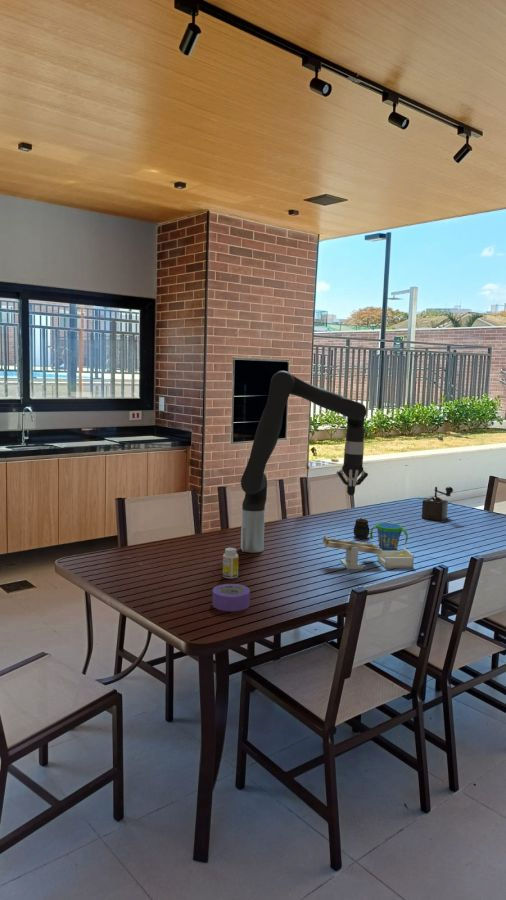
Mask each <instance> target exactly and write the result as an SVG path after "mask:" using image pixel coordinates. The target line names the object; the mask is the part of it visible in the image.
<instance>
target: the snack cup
mask: <svg viewBox="0 0 506 900" xmlns="http://www.w3.org/2000/svg"><path fill="white" fill-rule="evenodd" d="M374 528H376V529H377V537H378V539H377V541H378V548H379V549H382V551H398V546H399V541H400V537H401V534H402V531H403V533H404V534H405V537H406V538H405V542H404V544H407V542H408V539H409V538H408V536H409V535H408V532H407V530H406V529H405V528H403V526H402V525H400V524H397V523H392V522H381V523H377V524H376V525H374V526H373V527H372V528H371V530H370V531H369V536H370V539H371V540H373V537H374V536H373V530H374Z"/></svg>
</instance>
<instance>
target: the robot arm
mask: <svg viewBox="0 0 506 900" xmlns="http://www.w3.org/2000/svg"><path fill="white" fill-rule="evenodd" d="M269 384H270V385H269V390H268V395H267V400H266V403H265V404H266V405H265V406H264V408H263V412H262V414H261V417H260V419H259V421H258V425H257V428H256V431H255V435H254V439H253V443H252V446H251V450H250V455H249V459H248V461H247V464H246V466H245V469H244V472H243V474H242V477H241V479H240V486H241V489H242V491H243V492H244V499H243V501H242V503H241V504H242V506H241V508H242V511H241V529H240V550H241V551H242V553H243V552H244V553H245V552H246V553H251V554H252V553H255V554H256V553H262V552H263V551H265V550H264V549H265V548H264V547H265V516H266V515H265V512H266V511H265V508H266V502H267V494H268V492H267V491H268V479H267V476H266V474H265V469H266V466H267V463H268V462H269V460H270V457H271V456H272V454H273V452H274V450H275V448H276V446H277V443H278V439H279V436H280V433H281V430H282V425H283V417H284V412H285V407H286V404H287V402H288V399H289V397H290V395H291V396H297V397H299V398H301V399H304V400H307V401H308V402H310V403H313V404H315V405H317V406H318V407H321V408H323V409H325V410H328V411H331V412H334V413H338V414H340V415H342V416H344V417H346V419H347V420H346V421H347V425H346V426H347V427H346V433H345V434H346V435H345V445H344V450H343V451H344V453H343V465H342V467H341V469H340V470H338V471H336V475H337V476H338V477H339V478H340V480H341V481H342V483H343V484H344V485H346V486H347V488H346V493H347V495H348V496H354V495H355V493H356V487H357V486H361V484H362V483H363V482H364V481H365V480H366V478H367V477H368V476H369V474H368V472H366V470H364V467H363V466H364V465H363V464H364V463H363V462H364V452H365V445H364V443H365V442H364V441H365V418H366V416H367V413H368V412H367V411H368V410H367V408H366V406H365V405H364V404H363V403H361V402H359V401H355V400H352V399H349V398H346V397H344V396H343V395H341V394H338V393H335V392H333V391H331V390H328V389H325V388H322V387H318V386H316V385H313V384H311V383H308V382H306V381H304V380H301V379H300V378H298V377H297V376H295V375H293V374H292V373H290V372H289V371H286V370H278V371H277V372H276V373H274V374H273V375H272V377H271V379H270V383H269ZM344 475H345V476H346V479H345V477H344ZM359 476H360V477H359ZM358 477H359V478H358Z"/></svg>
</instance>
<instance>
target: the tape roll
mask: <svg viewBox="0 0 506 900" xmlns="http://www.w3.org/2000/svg"><path fill="white" fill-rule="evenodd" d="M250 597H251V590H250V588H249V587H248V586H246V585H243V584H240V583H239V584H238V583H224V584H219V585H217V586H214V587H213V588H212V607H213V608H215V609H217V610H219V611H223V612H240V611H243V610H246V609H248V608H249V607H250V604H251V603H250V602H251V598H250Z"/></svg>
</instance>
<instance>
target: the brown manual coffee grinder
mask: <svg viewBox="0 0 506 900" xmlns="http://www.w3.org/2000/svg"><path fill="white" fill-rule="evenodd" d="M453 492H454V489H453V487H452V486H447V487H445V492H443V491H440V490H438V486H435V487H434V496H432V497H429V498H426V499H422V504H421V505H422V506H421V519H425V520H432V521H438V522H441V521H444V520H446V519H447V518H448V507H449V506H448V505H449V501H448V500H446V499H442V498H440V497H438V495H437V493H438V494H442V495H445V496H446V497H451V496H452V495H451V494H453Z"/></svg>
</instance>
